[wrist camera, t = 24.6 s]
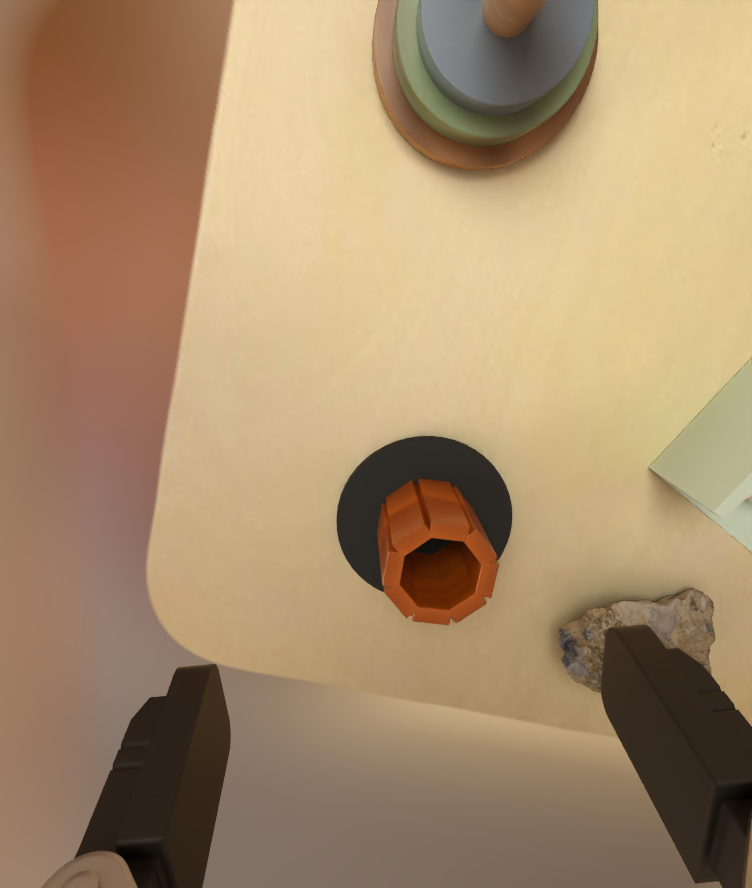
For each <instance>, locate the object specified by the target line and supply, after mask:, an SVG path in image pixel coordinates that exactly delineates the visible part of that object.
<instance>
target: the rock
mask: <svg viewBox="0 0 752 888" xmlns="http://www.w3.org/2000/svg"><path fill="white" fill-rule="evenodd" d="M713 612H714V606H713V601H712V600H711V599H710V598H709V597H707V596H705V595H704V593H703V592H699V591H697V590H695V589H694V588H692V589H689V590H687V591H685V592H683V593H680V594H679V595H677V596H672V595H670V596H668V597H665V598H661V599H660V600H659V601H657V602H652V601H649V600H637V601H621V602H612V603H611V604H610V605H609V606H608V607H606V608H605V609H604V608H591V609H588V610H587V611H586V613H585V614H584V615H583V616H582V618H581V619H578V620H576V621H573V622H569V623H567V624H565V625H563V626H562V628H561V629H559V633H560V638H559V640H558V641H559V644H560V646H561V647H562V649H563V651H564V653H565V655H564V656H563V658H562V659H561V661H562V662H563V664H564V666H565V668H566V669H567V670H568V674H569V675H571V678H572V679H573V680H574V681H576V682H578V683H581V684H583V685H585V686H587V687H589V688H591V689H592V690H593V691H595V692H599V693H601V675H602V665H603V655H604V645H605V636H606V631H607V629H608V628H611V627H621V626H631V625H642V624H646V625H648V626H649V627H650V628H651V629H652V630H653V631H654V633H655V634H656V635H657V637H658V638H659V639H660V641H661V642H662V643H663V645H664V646H665V648H666V649H672V648H679V649H681V650H682V651H684V652H685V653H686V654H688V655H689V656H691V657H692V658H693V659H695V660H696V661H698V662H699V663H700V664H702V665H703V666H704V667H705V668H706V670H707V671H708V672H709V673H710V675H711V667H710V665H709V664H710V662H709V652H710V646H711V644H712V643H713V642H714V641H715V633H714V629H713V622H712V618H711V617H712V616H713ZM711 676H712V675H711Z"/></svg>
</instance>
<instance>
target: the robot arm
mask: <svg viewBox="0 0 752 888" xmlns="http://www.w3.org/2000/svg"><path fill="white" fill-rule="evenodd" d="M601 695H602V700H603V704H604V708H605V711H606V713H607V716H608V718H609V720H610V722H611V724H612V726H613V728H614V729H615V731H616V733H617V735H618V737H619V739H620V741H621V743H622V745H623V747H624V748H625V750H626V752H627V754H628V756H629V758H630V760H631V762H632V764H633V766H634V768H635V770H636V771H637V773H638V775H639V777H640V779H641V781H642V783H643V785H644V786H645V789H646V790H647V792H648V794H649V796H650V798H651V800H652V802H653V804H654V806H655V808H656V810H657V811H658V813H659V815H660V817H661V819H662V821H663V823H664V825H665V827H666V828H667V831H668V832H669V834H670V836H671V838H672V840H673V842H674V844H675V846H676V848H677V849H678V852H679V853H680V855H681V857H682V859H683V861H684V863H685V865H686V867H687V869H688V871H689V872H690V874H691V876H692V878H693V880H694V882H695V883H704V882H714V881H719V882H720V884H721V886H722V887H723V888H752V727H751V725H750V724H749V723H748V722H747V720H746V719H745V718H744V717H743V715H742V714H741V713H740V711H739V710H736V709H735V707H734V704H733V703H732V701H731V700H730V699H729V698H728V696H727V695H726V694H725V692H724V691H723V692H722V691H721V689H720V686H719V685H718V684H717V682H716V681H715V680H714V679H713V677H712V676H711V675H710V673H709V672H708V671H707V670H706V668H705V667H704V666H703V665H702V664H700V663H699V662H698V661H696V660H695V659H693V658H692V657H691V656H689V655H688V654H686V653H685V652H684V651H682V650H681V649H679V648H672V649H666V648H665V646H664V645H663V643H662V642H661V641H660V639H659V638H658V637H657V635H656V634H655V633H654V631H653V630H652V629H651V628H650V627H649V626H648V625H646V624H642V625H631V626H621V627H611V628H608V629H607V631H606V636H605V645H604V655H603V665H602V675H601ZM229 750H230V720H229V715H228V711H227V706H226V702H225V697H224V692H223V688H222V683H221V679H220V674H219V670H218V667H217V665H216V664H210V665H199V666H188V667H179V668H177V669H176V671H175V674H174V675H173V679H172V681H171V684H170V687H169V690H168V693H167V695H166V696H161V697H151V698H149V699H148V701H147V702H146V703H145V704H144V705H143V706H142V708H141V709H140V710H139V711H138V712H137V713H136V715H135V716H134V717H133V718H132V719H131V721H130V723H129V726H128V728H127V731H126V733H125V736H124V738H123V741H122V743H121V749H120V750H119V751H118V753H117V756H116V758H115V761H114V763H113V770H111V771H110V773H109V775H108V778H107V780H106V783H105V785H104V788H103V790H102V793H101V795H100V798H99V800H98V803H97V805H96V808H95V810H94V813H93V816H92V818H91V820H90V822H89V825H88V827H87V830H86V832H85V835H84V837H83V840H82V842H81V845H80V847H79V850H78V852H77V854H76V856H75V858H74V859H73V860H71V861H70V862H68V863H66V864H65V865H64V866H63V867H61V868H60V869H59V870H57V872H56V873H54V874H53V875H52V876H51V877H50V878H49V879H48V880H47V882H46V883H45V884H44V885H43V887H42V888H202V886H203V881H204V876H205V871H206V866H207V861H208V856H209V851H210V846H211V841H212V836H213V831H214V826H215V821H216V816H217V811H218V806H219V801H220V796H221V791H222V786H223V781H224V776H225V771H226V766H227V761H228V756H229Z"/></svg>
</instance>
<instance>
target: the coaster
mask: <svg viewBox="0 0 752 888" xmlns="http://www.w3.org/2000/svg"><path fill="white" fill-rule="evenodd" d="M418 478H422V479H429V480H437V481H445V482H450V484H451V486H452V487H454V486H457V488H458V489H459V490H460V492H461V493H462V494H463V496H464V497H465V498H466V500H467V501H468V502H469V504H470V505H471V506H472V508H473V509H474V511H475V513H476V515H477V517H478V519H479V521H480V523H481V525H482V527H483V529H484V531H485V533H486V535H487V537H488V539H489V541H490V543H491V545H492V547H493V549H494V551H495V553H496V555H497V558H496V560H497V561H498V559H499V558H500V556H501V554H502V552H503V551H504V549H505V547H506V544H507V541H508V538H509V535H510V530H511V525H512V506H511V501H510V496H509V493H508V490H507V488H506V485H505V483H504V481H503V479H502V478H501V476H500V474H499V473H498V471H497V470H496V469H495V468H494V466H493V465H492V464H491V463H490V462H489V461H488V460H487V459H486V458H485V457H484V456H483V455H481V454H480V453H479V452H477V451H476V450H475V449H473V448H471V447H469V446H467V445H466V444H463V443H460V442H458V441H455V440H452V439H448V438H443V437H434V436H419V437H412V438H406V439H403V440H399V441H396V442H393V443H391V444H389V445H386V446H384V447H383V448H381V449H379V450H377V451H375V452H374V453H373V454H371V455H370V456H369V457H367V458H366V459H365V460H364V461H363V462H362V463H361V464H360V465H359V466H358V467H357V468H356V470H355V471H354V472H353V473H352V475H351V476H350V478H349V479H348V481H347V483H346V484H345V487H344V489H343V491H342V494H341V497H340V500H339V504H338V511H337V532H338V538H339V542H340V545H341V548H342V551H343V553H344V555H345V557H346V559H347V561H348V562H349V564H350V565H351V567H352V568H353V569H354V570H355V571H356V573H357V574H358V575H359V576H360V577H361V578H363V579H364V580H365V581H366V582H367V583H369V584H370V585H372V586H373V587H375V588H376V589H378V590H380V591H383V592H384V586H383V585H382V577H381V567H380V557H379V546H378V536H377V529H378V523H379V517H380V511H381V505H382V504H386V497H388V496H389V495H390V494H392V493H393V492H395V491H396V490H398V489H399V488H400V487H402V486H403V485H405V484H406V483H408V482H409V481H410V480H413V482H414V483H415V484H416V486H417V480H418ZM451 542H453V540H445V539H437V538H431V539H429V540H428V541H426V542H425V543H423V544H422V545H420V546H419V547H417V548H416V549H415V550H413V551H412V552H417V553H425V554H435V553H436V552H438V551H439V550H441V549H442V548H444V547H445V546H447V545H448V544H450V543H451Z"/></svg>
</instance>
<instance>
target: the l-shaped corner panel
mask: <svg viewBox="0 0 752 888" xmlns="http://www.w3.org/2000/svg"><path fill="white" fill-rule="evenodd" d="M649 468H650V469H651V470H652V471H653V472H655V473H656V474H657V475H658V476H660V477H661V478H662V479H663V480H664V481H666V482H667V483H668V484H669V485H670V486H672V487H673V488H674V489H675V490H677V491H678V492H679V493H680V494H681V495H683V496H684V497H685V498H686V499H687V500H689V501H690V502H691V503H692V504H694V505H695V506H696V507H697V508H698V509H700V510H701V511H702V512H703V513H704V514H706V515H707V516H708V517H709V518H711V519H712V520H713V521H714V522H715V523H717V524H718V525H719V526H720V527H721V528H723V529H724V530H725V531H726V532H728V533H729V534H730V535H731V536H732V537H734V538H735V539H736V540H737V541H738V542H740V543H741V544H742V545H743V546H745V547H746V548H747V549H748V550H749V551H751V552H752V358H751V359H750V360H749V361H748V362H747V363H746V364H745V365H744V367H743V368H742V369H741V370H740V371H739V372H738V373H737V374H736V375H735V376H734V377H733V378H732V379H731V380H730V381H729V382H728V384H727V385H726V386H725V387H724V388H723V389H722V390H721V391H720V392H719V393H718V394H717V395H716V396H715V397H714V398H713V400H712V401H711V402H710V403H709V404H708V405H707V406H706V407H705V408H704V409H703V410H702V411H701V412H700V413H699V414H698V415H697V417H696V418H695V419H694V420H693V421H692V422H691V423H690V424H689V425H688V426H687V427H686V428H685V429H684V430H683V431H682V432H681V434H680V435H679V436H678V437H677V438H676V439H675V440H674V441H673V442H672V443H671V444H670V445H669V446H668V447H667V448H666V449H665V451H664V452H663V453H662V454H661V455H660V456H659V457H658V458H657V459H656V460H655V461H654V462H653V463H652V464H651V465H650V467H649Z"/></svg>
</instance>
